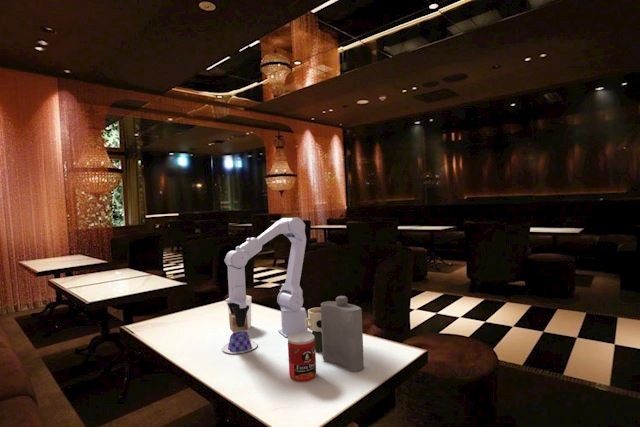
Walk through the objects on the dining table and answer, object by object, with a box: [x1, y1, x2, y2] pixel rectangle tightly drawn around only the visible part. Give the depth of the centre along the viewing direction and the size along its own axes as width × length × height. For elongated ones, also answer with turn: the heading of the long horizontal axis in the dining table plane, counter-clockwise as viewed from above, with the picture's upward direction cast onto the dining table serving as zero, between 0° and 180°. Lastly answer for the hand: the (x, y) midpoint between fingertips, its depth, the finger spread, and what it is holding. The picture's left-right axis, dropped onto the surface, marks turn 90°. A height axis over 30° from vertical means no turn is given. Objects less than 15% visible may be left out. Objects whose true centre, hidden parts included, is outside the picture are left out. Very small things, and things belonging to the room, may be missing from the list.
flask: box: [320, 295, 365, 373], centre depth 109 cm, size 15×6×20 cm, turn 44°
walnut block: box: [228, 313, 249, 333], centre depth 125 cm, size 5×5×5 cm
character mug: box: [305, 306, 323, 351], centre depth 121 cm, size 11×7×13 cm, turn 128°
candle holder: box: [226, 294, 253, 329], centre depth 147 cm, size 10×10×12 cm
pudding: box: [221, 330, 258, 354], centre depth 125 cm, size 12×12×5 cm
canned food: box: [287, 332, 317, 383], centre depth 102 cm, size 8×8×11 cm
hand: (238, 324), depth 125 cm, fingers closed on walnut block, 5 cm apart
